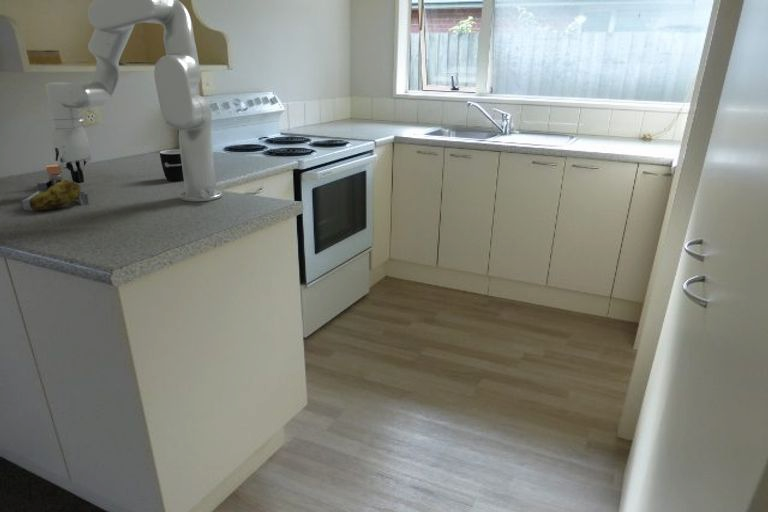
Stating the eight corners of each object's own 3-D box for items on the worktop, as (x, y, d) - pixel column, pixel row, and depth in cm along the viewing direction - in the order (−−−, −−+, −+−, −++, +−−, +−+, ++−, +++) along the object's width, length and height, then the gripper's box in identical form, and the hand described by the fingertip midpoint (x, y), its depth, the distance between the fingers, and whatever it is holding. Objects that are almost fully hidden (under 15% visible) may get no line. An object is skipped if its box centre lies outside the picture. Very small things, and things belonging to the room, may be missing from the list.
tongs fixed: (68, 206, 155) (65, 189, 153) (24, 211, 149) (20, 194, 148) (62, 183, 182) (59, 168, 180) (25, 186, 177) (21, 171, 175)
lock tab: (61, 173, 174) (60, 166, 173) (47, 174, 172) (46, 167, 171) (61, 171, 176) (59, 164, 176) (47, 172, 174) (45, 165, 174)
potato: (37, 206, 154) (30, 179, 152) (85, 203, 158) (80, 177, 156) (29, 214, 147) (22, 186, 144) (80, 210, 151) (75, 183, 148)
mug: (161, 182, 185) (157, 154, 181) (166, 177, 193) (162, 149, 189) (196, 181, 187) (193, 153, 183) (199, 176, 195) (196, 149, 192)
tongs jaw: (56, 191, 171) (53, 176, 169) (64, 190, 172) (61, 175, 171) (81, 205, 156) (78, 188, 155) (89, 203, 158) (86, 187, 156)
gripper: (80, 121, 170) (91, 176, 176) (35, 126, 157) (48, 186, 163) (97, 122, 167) (107, 179, 173) (52, 127, 154) (65, 188, 161)
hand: (78, 182), depth 168 cm, fingers closed
